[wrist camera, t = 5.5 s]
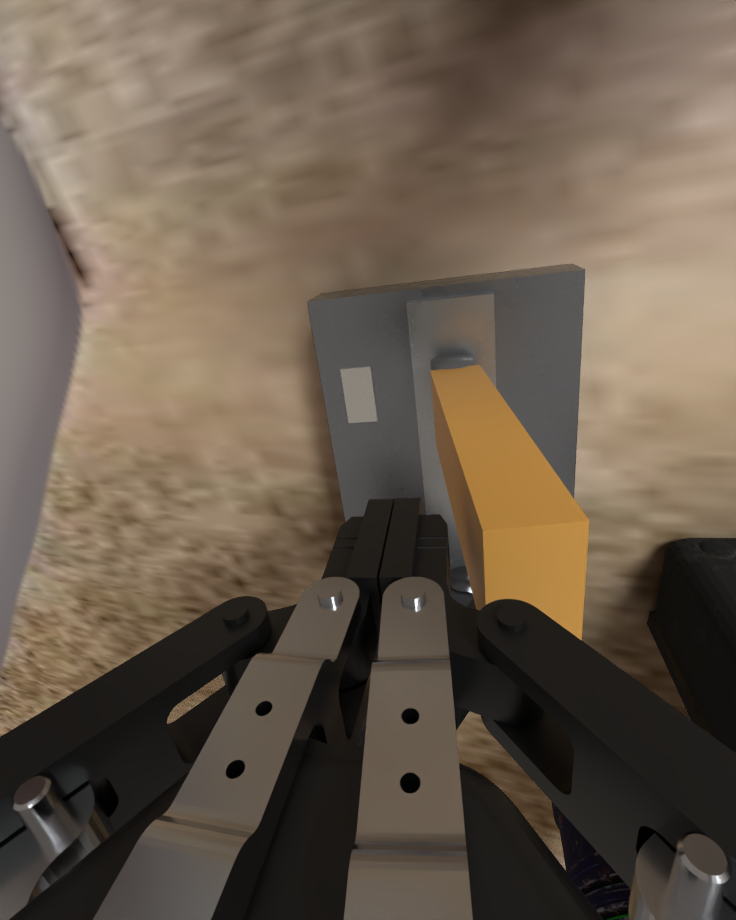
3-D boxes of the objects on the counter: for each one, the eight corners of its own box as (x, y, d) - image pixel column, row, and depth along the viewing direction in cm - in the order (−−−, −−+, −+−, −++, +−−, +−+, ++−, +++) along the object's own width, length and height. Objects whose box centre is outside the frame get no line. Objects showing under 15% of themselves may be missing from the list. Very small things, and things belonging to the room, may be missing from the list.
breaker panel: (307, 295, 28) (112, 396, 12) (571, 263, 25) (758, 343, 9) (363, 619, 37) (295, 904, 22) (558, 623, 35) (637, 953, 19)
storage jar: (646, 797, 41) (736, 1076, 28) (526, 768, 42) (557, 1024, 29) (699, 719, 36) (836, 1007, 23) (562, 688, 37) (619, 949, 24)
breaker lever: (426, 356, 24) (482, 522, 10) (472, 351, 24) (589, 512, 10) (432, 433, 26) (487, 662, 12) (475, 428, 25) (580, 655, 12)
